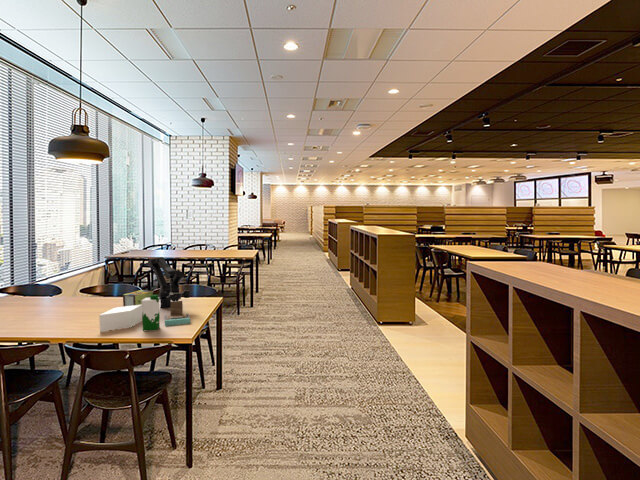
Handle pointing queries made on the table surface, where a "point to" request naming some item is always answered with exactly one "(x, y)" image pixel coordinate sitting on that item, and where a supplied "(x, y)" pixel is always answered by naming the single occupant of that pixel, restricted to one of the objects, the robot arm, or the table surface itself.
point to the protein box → (135, 297)
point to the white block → (120, 317)
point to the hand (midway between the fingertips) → (175, 305)
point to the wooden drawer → (176, 310)
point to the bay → (177, 321)
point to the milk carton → (150, 313)
